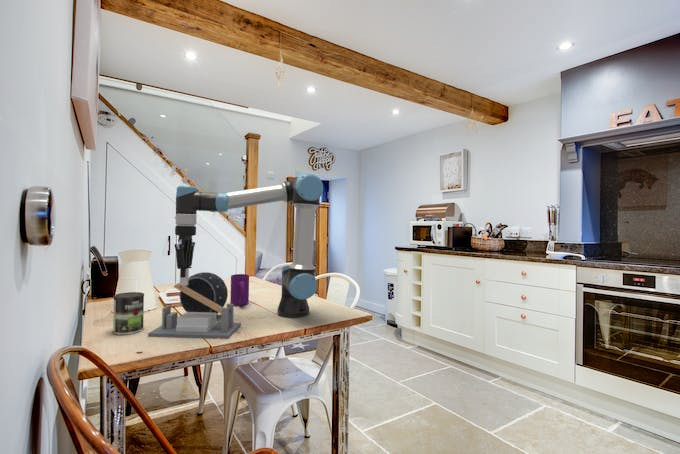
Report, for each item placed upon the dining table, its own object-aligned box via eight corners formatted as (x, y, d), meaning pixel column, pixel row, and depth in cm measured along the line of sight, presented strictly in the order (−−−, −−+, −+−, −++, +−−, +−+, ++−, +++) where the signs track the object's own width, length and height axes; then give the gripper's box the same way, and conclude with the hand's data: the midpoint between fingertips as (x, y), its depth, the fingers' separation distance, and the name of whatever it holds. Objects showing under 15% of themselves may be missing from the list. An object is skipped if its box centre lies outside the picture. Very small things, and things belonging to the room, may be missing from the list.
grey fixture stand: (240, 325, 146) (241, 301, 146) (228, 338, 130) (228, 311, 130) (169, 323, 147) (169, 299, 147) (147, 336, 131) (148, 309, 131)
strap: (230, 315, 140) (232, 311, 140) (226, 318, 136) (229, 314, 136) (177, 286, 140) (180, 281, 140) (173, 288, 136) (175, 283, 136)
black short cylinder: (217, 322, 150) (218, 275, 150) (176, 318, 154) (176, 273, 154) (230, 315, 161) (230, 272, 160) (191, 312, 165) (191, 269, 164)
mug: (247, 301, 188) (247, 273, 188) (252, 308, 174) (252, 278, 174) (229, 302, 185) (229, 274, 184) (233, 310, 170) (233, 279, 170)
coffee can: (149, 329, 139) (149, 294, 138) (121, 336, 130) (121, 298, 129) (135, 324, 144) (135, 290, 144) (107, 331, 135) (108, 295, 135)
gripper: (183, 224, 144) (182, 281, 145) (168, 225, 131) (166, 288, 132) (202, 225, 144) (200, 282, 145) (187, 226, 131) (186, 288, 132)
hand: (184, 285), depth 138 cm, fingers closed
